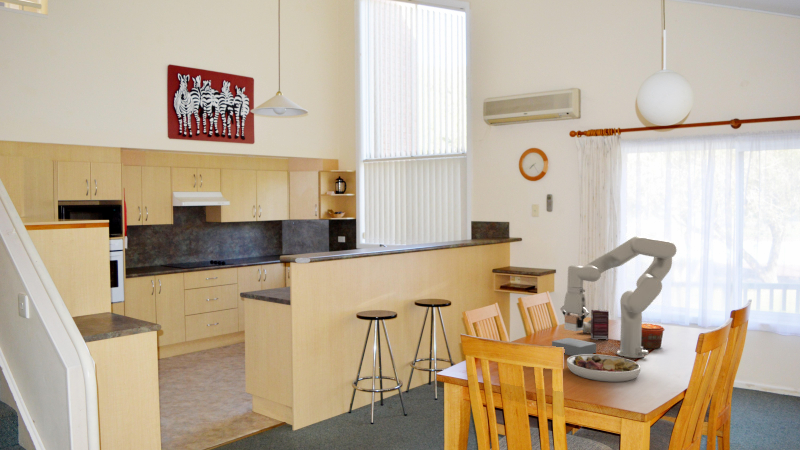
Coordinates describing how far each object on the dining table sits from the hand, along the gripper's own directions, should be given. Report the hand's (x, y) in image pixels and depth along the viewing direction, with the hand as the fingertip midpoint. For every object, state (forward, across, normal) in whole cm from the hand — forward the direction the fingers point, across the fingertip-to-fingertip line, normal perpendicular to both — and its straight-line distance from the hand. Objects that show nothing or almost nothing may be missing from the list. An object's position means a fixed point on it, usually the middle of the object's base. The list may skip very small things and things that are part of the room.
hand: (573, 326), depth 288 cm
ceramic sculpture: (+13, +20, -50) cm, 55 cm away
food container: (+13, -15, -44) cm, 49 cm away
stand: (+13, 0, 0) cm, 13 cm away
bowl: (+14, -30, +23) cm, 40 cm away
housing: (+2, 0, 0) cm, 2 cm away
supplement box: (+13, +10, -39) cm, 43 cm away
